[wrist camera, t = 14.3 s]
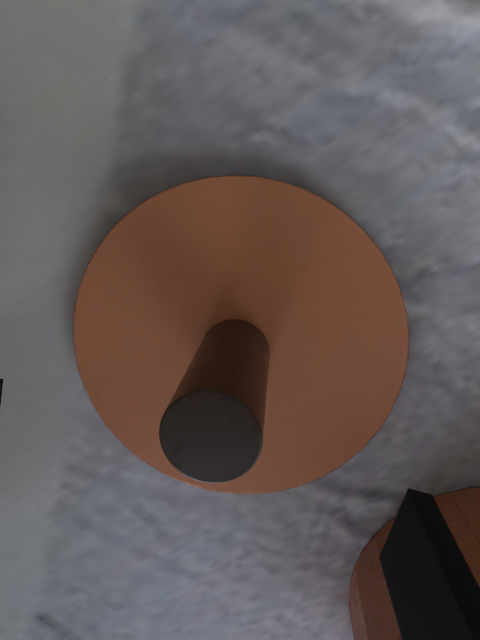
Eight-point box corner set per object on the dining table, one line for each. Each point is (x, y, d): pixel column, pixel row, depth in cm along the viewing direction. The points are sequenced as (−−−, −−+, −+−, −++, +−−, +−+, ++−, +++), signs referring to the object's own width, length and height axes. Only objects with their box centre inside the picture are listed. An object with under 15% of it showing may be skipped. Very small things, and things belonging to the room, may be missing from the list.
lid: (20, 285, 25) (-138, 344, 15) (301, 102, 21) (317, 32, 11) (190, 522, 28) (144, 686, 19) (458, 403, 24) (566, 536, 15)
